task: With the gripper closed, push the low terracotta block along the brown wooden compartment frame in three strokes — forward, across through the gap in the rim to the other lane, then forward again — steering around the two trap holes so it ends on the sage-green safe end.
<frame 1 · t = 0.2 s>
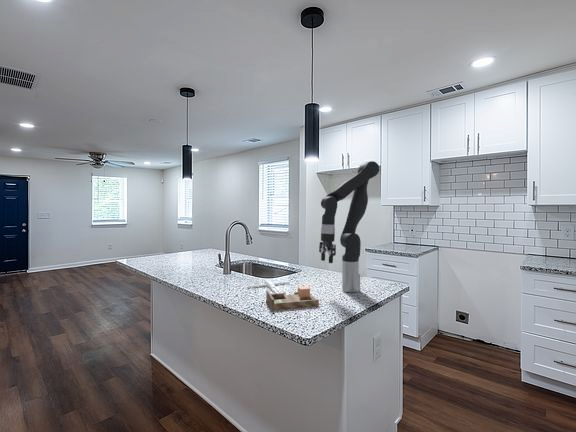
hand: (326, 261, 169), 18 cm above the countertop, tool pointing down, fingers open, 8 cm apart
block: (303, 295, 158), point 2 cm above the countertop, touching brown wooden compartment frame
articulated figure: (273, 290, 177), on the countertop
brown wooden compartment frame: (292, 302, 153), on the countertop
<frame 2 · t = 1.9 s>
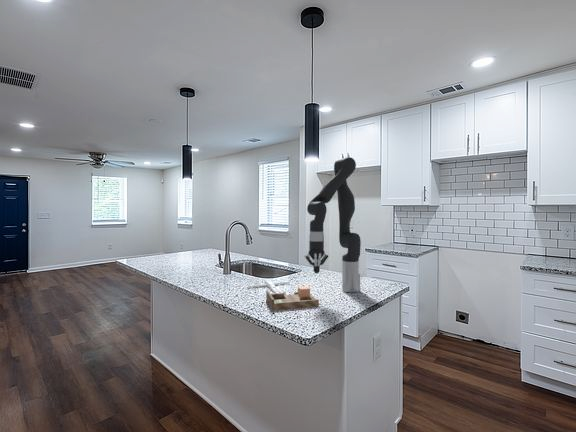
hand: (316, 273, 159), 13 cm above the countertop, tool pointing down, fingers closed
nothing on the countertop moved.
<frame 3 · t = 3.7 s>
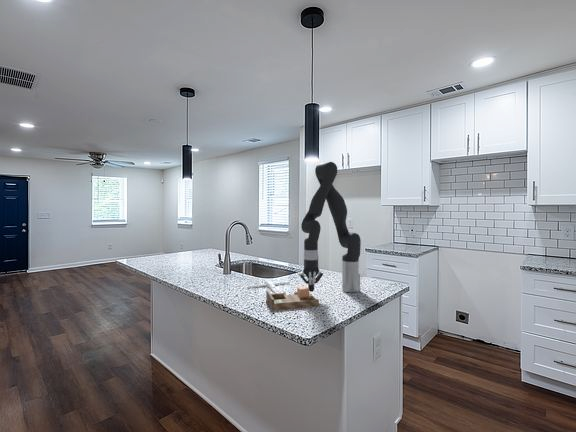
hand: (311, 291, 159), 4 cm above the countertop, tool pointing down, fingers closed
nothing on the countertop moved.
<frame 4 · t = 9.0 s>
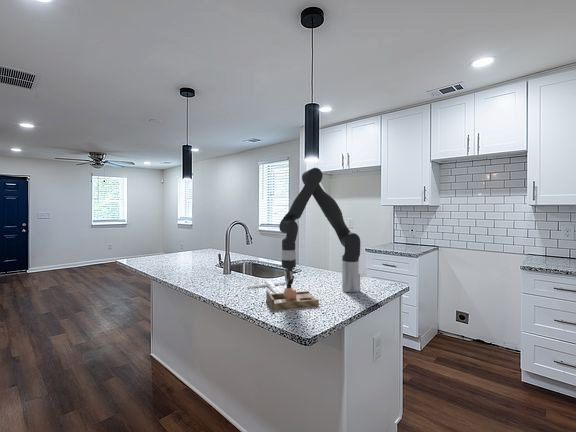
hand: (288, 291, 160), 4 cm above the countertop, tool pointing down, fingers closed
block: (290, 297, 155), point 2 cm above the countertop, touching gripper, brown wooden compartment frame
everything else where it was.
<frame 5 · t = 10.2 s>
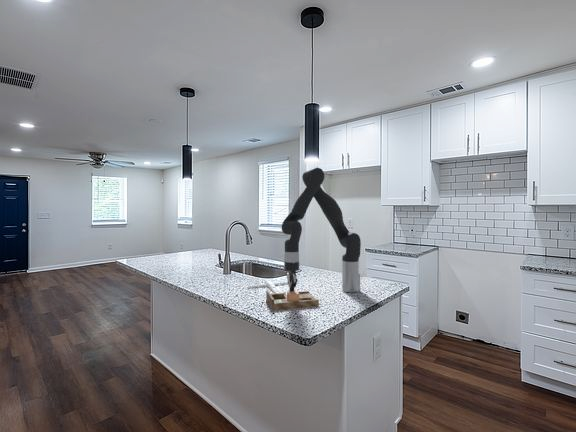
hand: (291, 294, 153), 4 cm above the countertop, tool pointing down, fingers closed
block: (293, 300, 149), point 2 cm above the countertop, touching gripper
everything else where it was.
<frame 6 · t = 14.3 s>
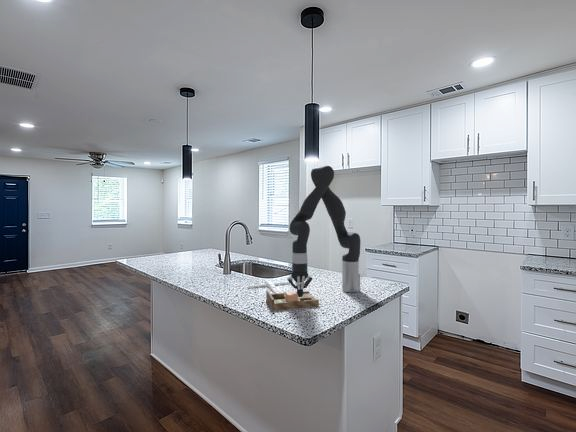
hand: (299, 296, 150), 4 cm above the countertop, tool pointing down, fingers closed
block: (291, 301, 148), point 2 cm above the countertop, touching brown wooden compartment frame
everything else where it was.
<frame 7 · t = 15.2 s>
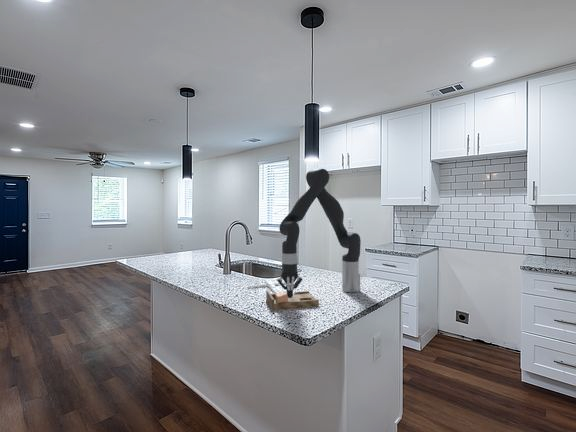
hand: (289, 297, 149), 4 cm above the countertop, tool pointing down, fingers closed
block: (281, 302, 147), point 2 cm above the countertop, touching gripper, brown wooden compartment frame
everything else where it was.
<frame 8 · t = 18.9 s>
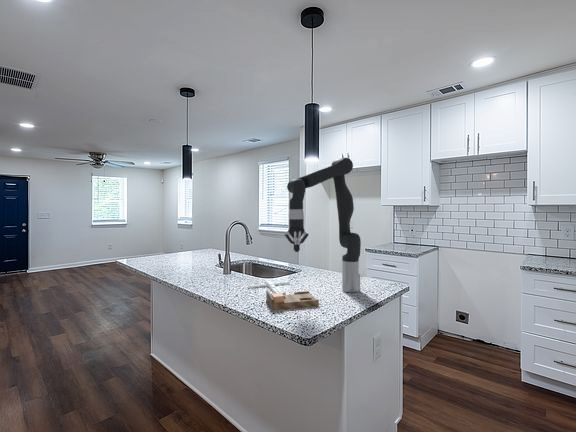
hand: (296, 251, 157), 25 cm above the countertop, tool pointing down, fingers closed
block: (278, 303, 146), point 2 cm above the countertop, touching brown wooden compartment frame
everything else where it was.
at the end: block 0.7 cm from the target spot on the brown wooden compartment frame, point 2.0 cm above the brown wooden compartment frame's base; block tilted 1° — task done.
